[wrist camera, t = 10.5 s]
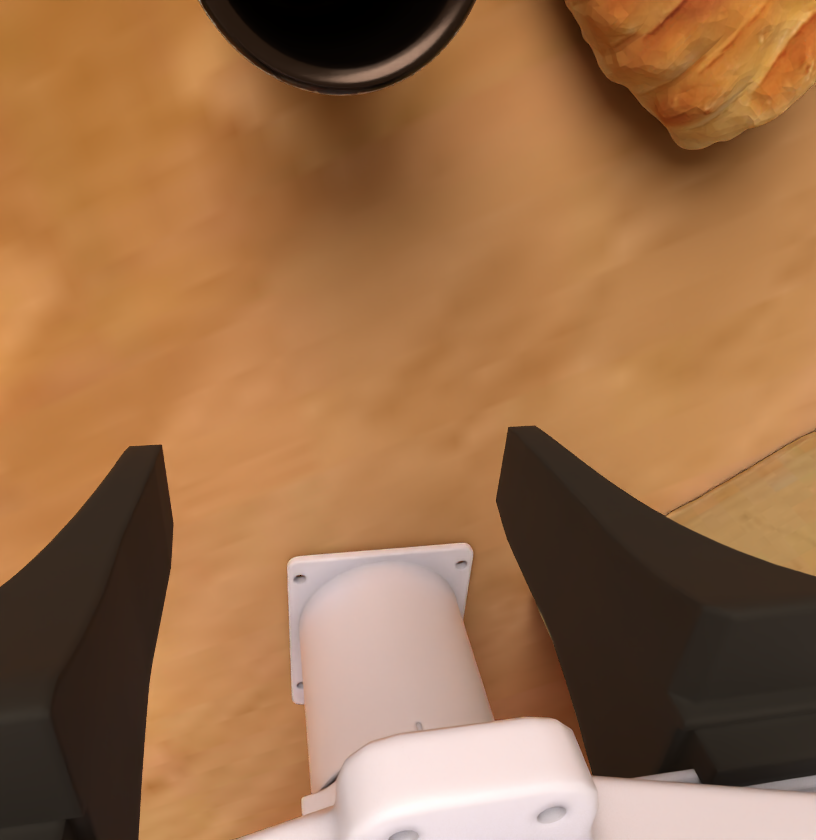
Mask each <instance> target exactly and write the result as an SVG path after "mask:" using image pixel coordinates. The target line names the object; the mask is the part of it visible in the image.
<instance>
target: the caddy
mask: <svg viewBox="0 0 816 840" xmlns="http://www.w3.org/2000/svg"><path fill="white" fill-rule="evenodd" d="M666 517H668V518H670V519H671V520H673V521H675V522H677V523H679V524H681V525H683V526H685V527H687V528H689V529H691V530H693V531H695V532H697V533H699V534H701V535H703V536H706V537H708V538H710V539H712V540H714V541H717V542H719V543H721V544H723V545H726V546H728V547H731V548H733V549H736V550H738V551H741V552H743V553H746V554H749V555H751V556H754V557H757V558H759V559H762V560H765V561H768V562H770V563H773V564H776V565H780V566H783V567H786V568H790V569H793V570H796V571H800V572H803V573H806V574H810V575H813V576H816V431H815V432H813V433H810V434H808V435H805V436H803V437H801V438H799V439H797V440H796V441H794V442H792V443H790V444H789V445H787V446H785V447H783V448H782V449H780V450H778V451H777V452H775V453H773V454H772V455H770V456H768V457H767V458H765V459H764V460H762V461H760V462H759V463H757V464H755V465H754V466H752V467H750V468H749V469H747V470H745V471H744V472H742V473H740V474H738V475H737V476H735V477H733V478H731V479H730V480H728V481H726V482H724V483H723V484H721V485H719V486H717V487H716V488H714V489H712V490H710V491H709V492H707V493H706V494H704V495H703V496H701V497H700V498H698V499H696V500H694V501H692V502H690V503H688V504H686V505H683V506H681V507H679V508H677V509H676V510H674V511H673V512H671V513H669V514H668V515H666ZM535 602H536V601H535ZM536 605H537V604H536ZM537 607H538V606H537ZM538 610H539V608H538ZM539 612H540V610H539ZM540 614H541V612H540ZM541 617H542V614H541ZM542 619H543V617H542ZM543 621H544V619H543ZM544 623H545V621H544ZM545 626H546V623H545ZM546 628H547V626H546ZM547 630H548V628H547ZM548 632H549V631H548ZM549 635H550V633H549ZM550 637H551V636H550ZM551 639H552V638H551Z"/></svg>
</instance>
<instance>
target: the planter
mask: <svg viewBox="0 0 816 840" xmlns="http://www.w3.org/2000/svg"><path fill="white" fill-rule="evenodd" d="M198 1H199V3H200V4H201V6H202V8H203V9H204V11H205V12H206V14H207V16H208V17H209V19H210V20H211V21H212V23H213V24H214V25H215V27H216V28H217V29H218V31H219V32H220V33H221V34H222V36H223V37H224V38H225V39H226V40H227V41H228V42H229V43H230V44H231V45H232V46H233V47H234V48H235V49H236V50H237V51H238V52H239V53H240V54H241V55H242V56H243V57H244V58H246V59H247V60H248V61H249V62H251V63H252V64H253V65H255V66H256V67H257V68H259V69H260V70H262V71H263V72H265V73H266V74H268V75H270V76H272V77H273V78H275V79H277V80H279V81H281V82H283V83H286V84H288V85H290V86H293V87H296V88H299V89H302V90H305V91H309V92H313V93H319V94H324V95H336V96H348V95H359V94H365V93H370V92H374V91H378V90H382V89H384V88H387V87H390V86H393V85H395V84H397V83H399V82H401V81H403V80H405V79H407V78H409V77H411V76H412V75H414V74H415V73H417V72H418V71H420V70H421V69H422V68H424V67H425V66H426V65H428V64H429V63H430V62H431V61H432V60H433V59H435V58H436V57H437V56H438V55H439V54H440V53H441V52H442V51H443V50H444V49H445V48H446V46H447V45H448V44H449V43H450V42H451V40H452V39H453V38H454V37H455V35H456V34H457V33H458V31H459V30H460V28H461V27H462V25H463V24H464V22H465V20H466V19H467V17H468V15H469V14H470V12H471V10H472V8H473V6H474V4H475V2H476V0H198Z"/></svg>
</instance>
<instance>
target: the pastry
mask: <svg viewBox="0 0 816 840" xmlns="http://www.w3.org/2000/svg"><path fill="white" fill-rule="evenodd" d="M565 4H566V6H567V8H568V9H569V10H570V11H571V12H572V14H573V16H574V18H575V20H576V21H577V23H578V24H579V26H580V27H581V32H582V37H583V39H584V40H585V41H586V42H587V43H588V44H589V45H590V46H591V48H592V51H593V53H594V55H595V57H596V60H597V63H598V66H599V67H600V69H601V70H602V72H603V73H604V74H605V76H606V77H607V78H608V79H609V80H611V81H612V82H615V83H618V84H621V85H623V86H625V87H627V88H628V89H629V90H630V92H631V93H632V94H633V95H634V96H635V97H636V99H637V100H638V101H639V102H640V104H641V105H642V106H643V107H644V108H645V109H646V110H647V111H648V112H649V113H651V114H652V115H653V116H654V117H656V118H657V119H658V120H659V121H660V122H661V123H662V124H663V125H664V126H665V127H666V128H667V129H668V131H669V133H670V135H671V137H672V138H673V140H674V142H675V143H676V144H677V145H678V146H679V147H681V148H684V149H690V150H697V149H703V148H706V147H708V146H710V145H712V144H713V143H716V142H718V141H729V140H731V139H733V138H734V137H736V136H738V135H739V134H741V133H742V132H743V131H745V130H746V129H749V128H755V127H759V126H761V125H764V124H766V123H768V122H770V121H772V120H773V119H775V118H777V117H778V116H779V115H781V114H782V113H783V112H784V111H785V110H787V109H788V108H789V107H790V106H791V105H792V104H793V103H794V102H795V101H797V100H798V99H799V98H800V97H801V96H803V95H804V94H805V93H806V92H807V90H808V89H809V88H810V87H811V86H812V85H814V84H815V82H816V0H565Z"/></svg>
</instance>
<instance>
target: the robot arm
mask: <svg viewBox="0 0 816 840" xmlns="http://www.w3.org/2000/svg"><path fill="white" fill-rule="evenodd" d="M496 503H497V506H498V510H499V513H500V517H501V521H502V524H503V527H504V530H505V534H506V537H507V540H508V542H509V544H510V547H511V549H512V551H513V554H514V556H515V558H516V560H517V562H518V565H519V567H520V569H521V571H522V573H523V576H524V578H525V580H526V582H527V584H528V586H529V589H530V591H531V593H532V595H533V597H534V599H535V601H536V604H537V606H538V608H539V610H540V612H541V614H542V617H543V619H544V621H545V623H546V626H547V628H548V631H549V633H550V636H551V638H552V641H553V644H554V647H555V650H556V653H557V656H558V659H559V662H560V665H561V668H562V671H563V674H564V677H565V680H566V684H567V687H568V690H569V693H570V697H571V700H572V703H573V707H574V710H575V713H576V716H577V720H578V723H579V727H580V731H581V734H582V738H583V742H584V745H585V749H586V753H587V756H588V760H589V763H590V767H591V771H592V775H593V776H592V775H591V774H590V772H589V769H588V767H587V764H586V762H585V759H584V757H583V755H582V752H581V750H580V747H579V745H578V742H577V740H576V738H575V735H574V733H573V730H572V729H570V728H569V727H567V726H566V725H564V724H563V723H561V722H559V721H558V720H556V719H553V718H549V717H519V718H511V719H504V720H496V721H495V720H494V717H493V714H492V711H491V707H490V704H489V701H488V698H487V695H486V692H485V689H484V685H483V682H482V679H481V676H480V673H479V670H478V667H477V663H476V660H475V657H474V654H473V651H472V648H471V645H470V641H469V638H468V635H467V632H466V629H465V626H464V623H463V618H464V612H465V605H466V599H467V593H468V586H469V580H470V574H471V567H472V561H473V550H472V548H471V546H470V545H469V544H467V543H452V544H440V545H428V546H416V547H403V548H391V549H379V550H367V551H355V552H342V553H330V554H318V555H306V556H297V557H294V558H292V559H290V560H289V562H288V564H287V579H288V606H289V634H290V661H291V689H292V700H293V702H294V703H296V704H305V717H306V730H307V743H308V756H309V769H310V782H311V794H310V795H307V796H304V797H303V798H302V799H301V806H302V816H300V817H297V818H294V819H292V820H289V821H286V822H283V823H280V824H277V825H274V826H271V827H268V828H266V829H263V830H260V831H257V832H254V833H251V834H248V835H245V836H242V837H240V838H237V839H233V840H816V576H813V575H810V574H806V573H803V572H800V571H796V570H793V569H790V568H786V567H783V566H780V565H776V564H773V563H770V562H768V561H765V560H762V559H759V558H757V557H754V556H751V555H749V554H746V553H743V552H741V551H738V550H736V549H733V548H731V547H728V546H726V545H723V544H721V543H719V542H717V541H714V540H712V539H710V538H708V537H706V536H703V535H701V534H699V533H697V532H695V531H693V530H691V529H689V528H687V527H685V526H683V525H681V524H679V523H677V522H675V521H673V520H671V519H670V518H668V517H666V516H664V515H662V514H661V513H659V512H657V511H655V510H653V509H652V508H650V507H648V506H647V505H645V504H643V503H642V502H640V501H638V500H637V499H635V498H634V497H632V496H631V495H629V494H628V493H626V492H625V491H623V490H622V489H620V488H619V487H617V486H616V485H614V484H613V483H611V482H610V481H609V480H607V479H606V478H604V477H603V476H602V475H600V474H599V473H597V472H596V471H595V470H593V469H592V468H591V467H589V466H588V465H587V464H585V463H584V462H583V461H581V460H580V459H579V458H577V457H576V456H575V455H574V454H572V453H571V452H570V451H568V450H567V449H566V448H564V447H563V446H562V445H561V444H559V443H558V442H557V441H555V440H554V439H553V438H552V437H550V436H549V435H548V434H546V433H545V432H543V431H542V430H541V429H539V428H538V427H536V426H520V427H508V433H507V439H506V444H505V450H504V456H503V462H502V468H501V474H500V479H499V485H498V491H497V497H496ZM172 541H173V517H172V510H171V503H170V497H169V490H168V483H167V476H166V470H165V463H164V456H163V450H162V445H147V446H129V447H128V448H127V449H126V450H125V451H124V453H123V454H122V455H121V457H120V458H119V460H118V461H117V462H116V464H115V465H114V467H113V468H112V469H111V471H110V472H109V474H108V475H107V476H106V478H105V479H104V480H103V481H102V483H101V484H100V485H99V487H98V488H97V489H96V491H95V492H94V493H93V494H92V495H91V497H90V498H89V499H88V500H87V502H86V503H85V504H84V505H83V506H82V508H81V509H80V510H79V511H78V512H77V514H76V515H75V516H74V517H73V518H72V519H71V520H70V521H69V523H68V524H67V525H66V526H65V527H64V528H63V529H62V530H61V531H60V532H59V533H58V534H57V535H56V537H55V538H54V539H53V540H52V541H51V542H50V543H49V544H48V545H47V546H46V547H45V548H44V549H43V550H42V551H41V552H40V553H39V554H38V555H37V556H36V557H35V558H34V559H33V560H32V561H30V562H29V563H28V564H27V565H26V566H25V567H24V568H23V569H22V570H20V571H19V572H18V573H17V574H16V575H15V576H14V577H12V578H11V579H10V580H9V581H7V582H6V583H5V584H3V585H2V586H1V587H0V840H138V836H139V819H140V802H141V785H142V770H143V756H144V742H145V728H146V716H147V705H148V693H149V682H150V675H151V669H152V662H153V657H154V652H155V647H156V642H157V637H158V631H159V626H160V621H161V616H162V611H163V606H164V601H165V596H166V590H167V585H168V580H169V575H170V569H171V557H172ZM459 561H463V562H461V563H458V562H459ZM297 575H303V576H302V577H296V576H297Z"/></svg>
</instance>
